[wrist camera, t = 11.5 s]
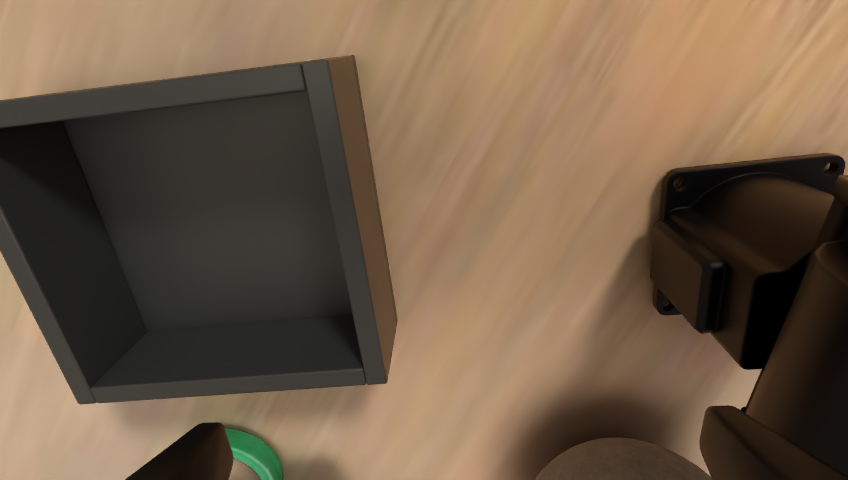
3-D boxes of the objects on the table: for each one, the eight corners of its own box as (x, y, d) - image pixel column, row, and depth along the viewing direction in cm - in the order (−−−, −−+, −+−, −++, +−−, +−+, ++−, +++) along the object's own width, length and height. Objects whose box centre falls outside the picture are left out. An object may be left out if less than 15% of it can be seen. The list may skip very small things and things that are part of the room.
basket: (354, 55, 17) (327, 58, 13) (397, 320, 22) (387, 384, 18) (40, 95, 18) (-74, 109, 14) (142, 341, 23) (77, 405, 19)
